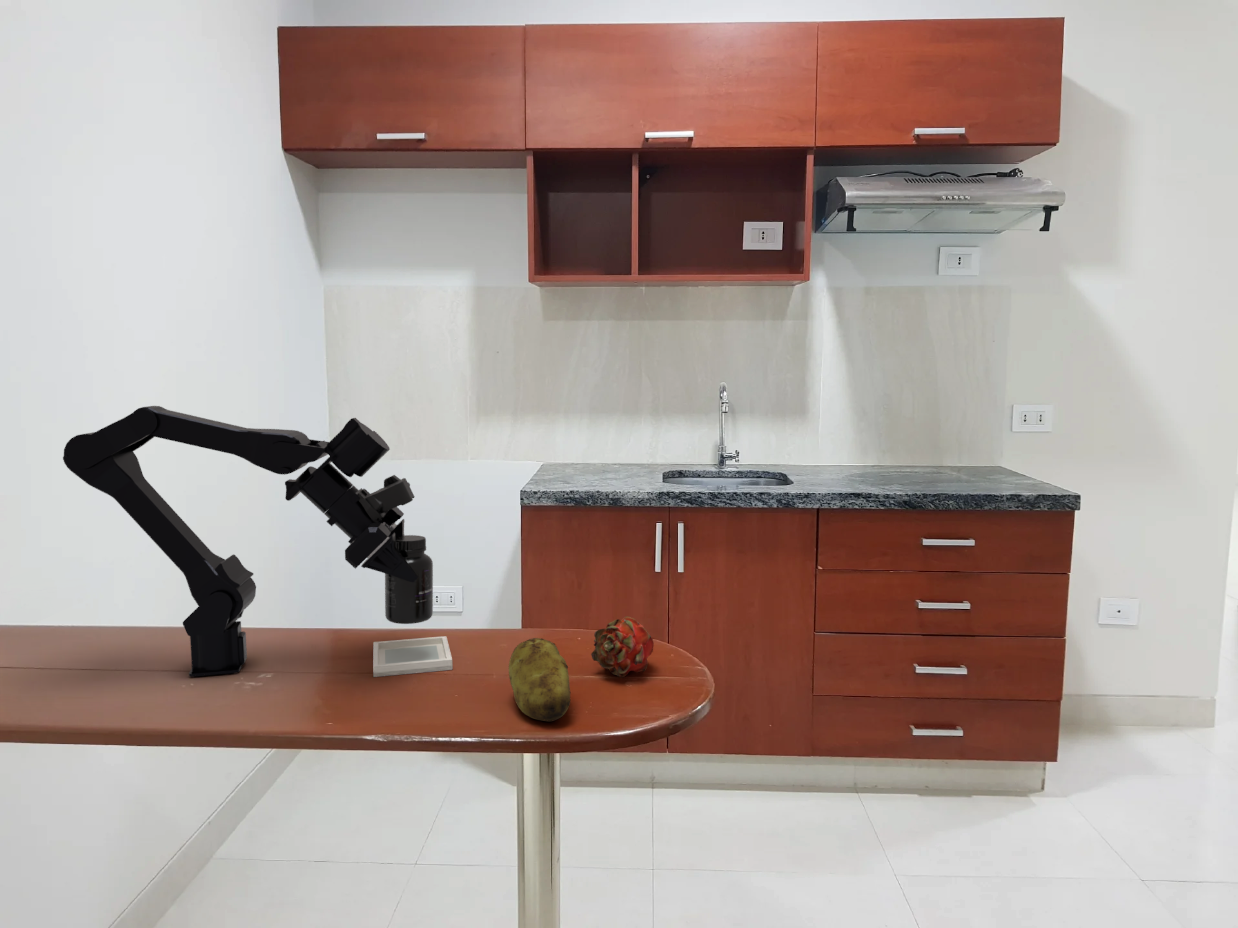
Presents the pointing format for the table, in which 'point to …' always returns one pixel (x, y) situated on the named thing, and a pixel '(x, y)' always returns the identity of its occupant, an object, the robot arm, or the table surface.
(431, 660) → the cream ceramic dish
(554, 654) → the potato
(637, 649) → the dragon fruit
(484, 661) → the table surface
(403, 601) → the supplement bottle
